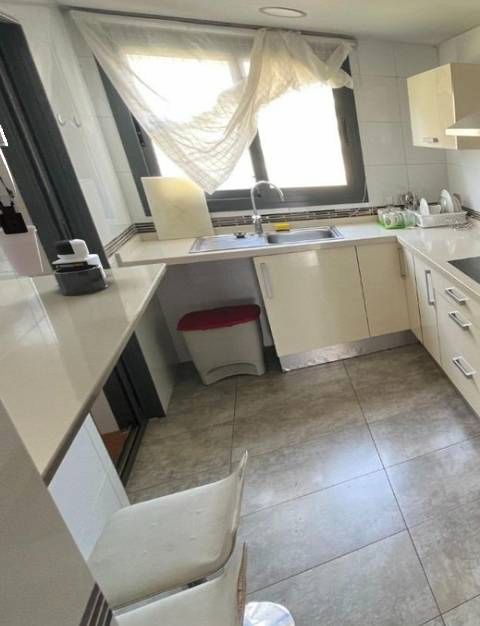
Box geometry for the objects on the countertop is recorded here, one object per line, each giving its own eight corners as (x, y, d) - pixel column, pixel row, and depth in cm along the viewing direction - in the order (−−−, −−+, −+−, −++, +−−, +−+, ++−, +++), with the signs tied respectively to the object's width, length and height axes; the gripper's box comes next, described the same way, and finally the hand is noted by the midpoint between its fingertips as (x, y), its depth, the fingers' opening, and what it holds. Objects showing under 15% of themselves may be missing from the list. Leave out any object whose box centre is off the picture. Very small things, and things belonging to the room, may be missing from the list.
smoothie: (18, 279, 93) (-12, 209, 88) (1, 275, 95) (-28, 207, 90) (59, 271, 99) (34, 205, 94) (42, 268, 101) (17, 203, 96)
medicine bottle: (61, 288, 123) (43, 244, 118) (74, 281, 129) (57, 239, 124) (96, 285, 125) (79, 241, 121) (107, 278, 131) (91, 236, 127)
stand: (57, 298, 115) (47, 275, 113) (66, 289, 122) (57, 267, 120) (104, 291, 120) (95, 269, 118) (110, 283, 127) (102, 262, 124)
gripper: (-60, 137, 89) (-20, 229, 96) (-52, 137, 80) (-8, 239, 86) (-2, 138, 95) (32, 224, 101) (12, 138, 86) (48, 233, 92)
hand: (13, 230), depth 94 cm, fingers closed on smoothie, 6 cm apart
